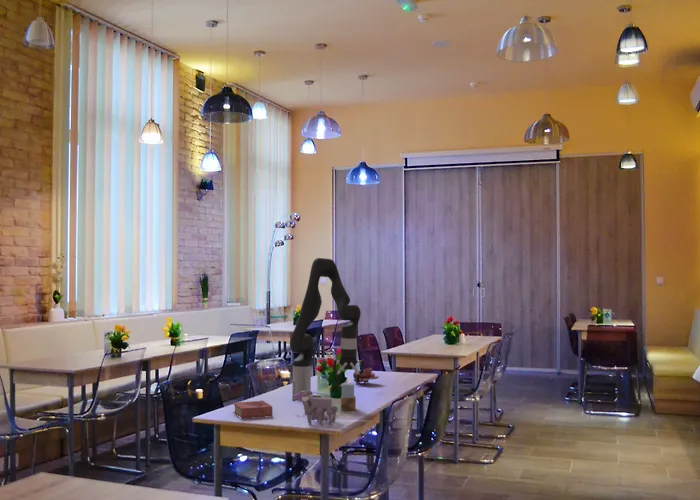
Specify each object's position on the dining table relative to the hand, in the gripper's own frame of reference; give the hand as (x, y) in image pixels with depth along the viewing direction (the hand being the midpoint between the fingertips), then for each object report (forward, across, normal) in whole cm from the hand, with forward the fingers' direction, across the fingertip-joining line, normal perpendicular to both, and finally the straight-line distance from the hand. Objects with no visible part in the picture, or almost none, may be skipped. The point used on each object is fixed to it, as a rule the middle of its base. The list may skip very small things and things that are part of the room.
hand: (347, 382), depth 335 cm
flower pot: (+14, -17, -9) cm, 24 cm away
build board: (+14, -2, +4) cm, 15 cm away
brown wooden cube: (+13, 0, 0) cm, 13 cm away
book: (+15, -44, -6) cm, 47 cm away
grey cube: (+7, 0, 0) cm, 7 cm away
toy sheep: (+14, -16, -22) cm, 30 cm away
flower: (+15, +15, +79) cm, 82 cm away
